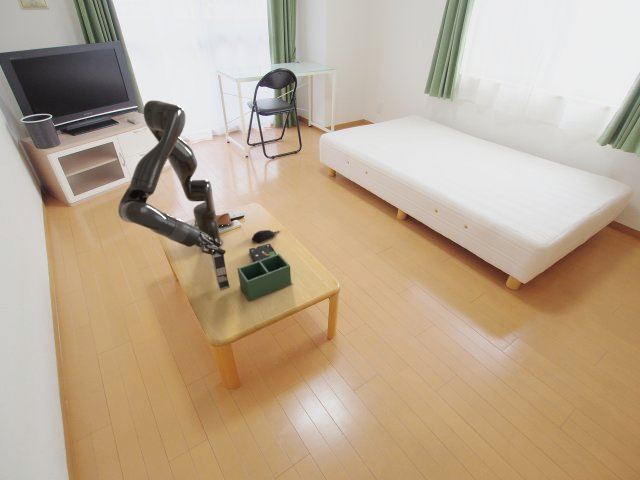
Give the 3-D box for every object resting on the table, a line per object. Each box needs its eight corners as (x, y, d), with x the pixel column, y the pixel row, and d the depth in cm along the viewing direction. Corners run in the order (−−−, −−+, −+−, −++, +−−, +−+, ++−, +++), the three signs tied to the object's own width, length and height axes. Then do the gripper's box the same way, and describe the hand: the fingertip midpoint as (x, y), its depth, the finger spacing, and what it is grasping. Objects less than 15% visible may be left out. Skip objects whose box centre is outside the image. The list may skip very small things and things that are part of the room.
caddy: (240, 286, 138) (237, 268, 132) (280, 271, 146) (279, 253, 140) (249, 301, 131) (246, 282, 126) (291, 284, 139) (290, 265, 134)
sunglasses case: (197, 232, 169) (194, 219, 168) (197, 232, 175) (193, 219, 175) (233, 224, 175) (230, 212, 174) (231, 224, 182) (228, 212, 181)
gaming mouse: (282, 234, 169) (281, 228, 167) (256, 245, 161) (255, 238, 159) (275, 229, 173) (274, 222, 171) (249, 239, 165) (248, 232, 163)
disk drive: (249, 253, 156) (259, 272, 145) (248, 248, 155) (258, 267, 144) (270, 247, 160) (281, 265, 149) (269, 243, 159) (281, 260, 148)
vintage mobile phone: (220, 290, 133) (209, 239, 119) (217, 283, 137) (206, 232, 123) (229, 288, 135) (220, 236, 121) (226, 280, 138) (216, 229, 124)
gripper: (194, 233, 109) (234, 251, 121) (182, 214, 119) (221, 232, 131) (180, 251, 110) (222, 267, 122) (170, 230, 119) (210, 247, 132)
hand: (221, 249), depth 126 cm, fingers closed on vintage mobile phone, 4 cm apart
